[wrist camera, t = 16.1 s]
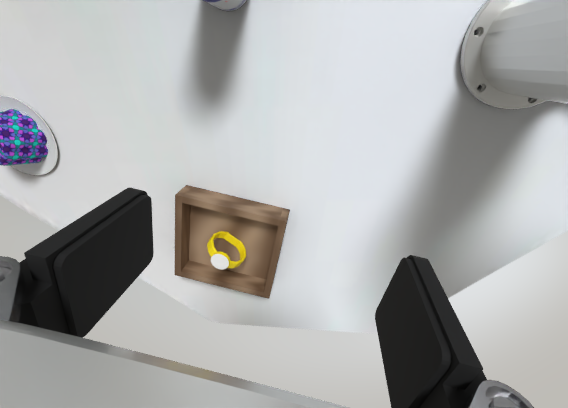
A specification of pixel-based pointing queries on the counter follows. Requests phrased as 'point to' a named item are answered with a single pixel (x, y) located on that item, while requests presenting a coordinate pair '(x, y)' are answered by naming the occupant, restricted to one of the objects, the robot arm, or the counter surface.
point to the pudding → (25, 139)
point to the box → (239, 223)
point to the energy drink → (226, 4)
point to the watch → (221, 258)
